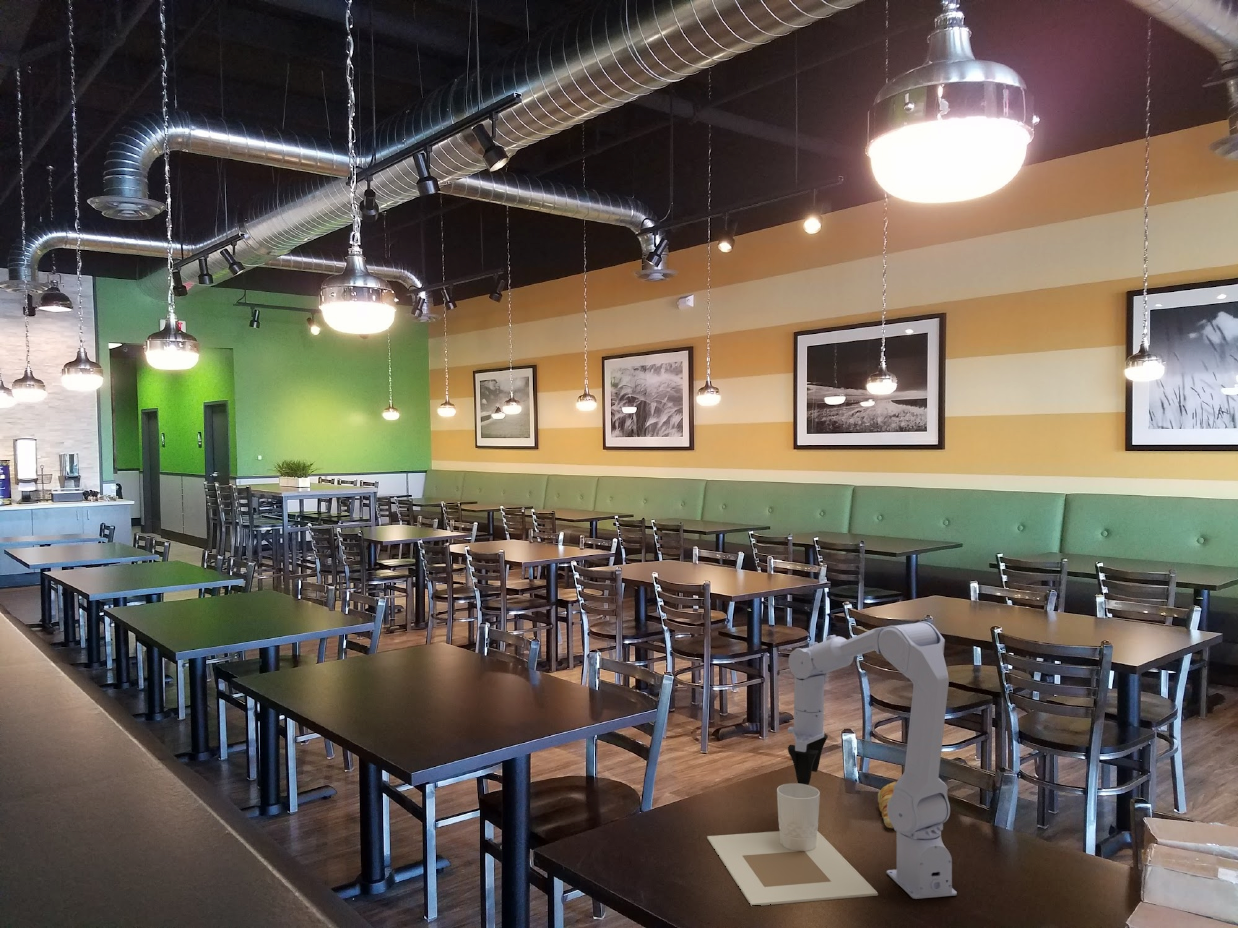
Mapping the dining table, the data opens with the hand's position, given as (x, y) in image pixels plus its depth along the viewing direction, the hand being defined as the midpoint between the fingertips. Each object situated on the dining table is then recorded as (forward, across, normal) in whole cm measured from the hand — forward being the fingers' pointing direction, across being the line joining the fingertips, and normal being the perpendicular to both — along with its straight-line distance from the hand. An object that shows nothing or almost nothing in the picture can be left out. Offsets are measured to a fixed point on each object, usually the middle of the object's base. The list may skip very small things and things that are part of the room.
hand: (807, 776), depth 168 cm
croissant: (+10, -16, +16) cm, 25 cm away
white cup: (+10, +9, 0) cm, 13 cm away
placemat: (+10, +17, 0) cm, 20 cm away
